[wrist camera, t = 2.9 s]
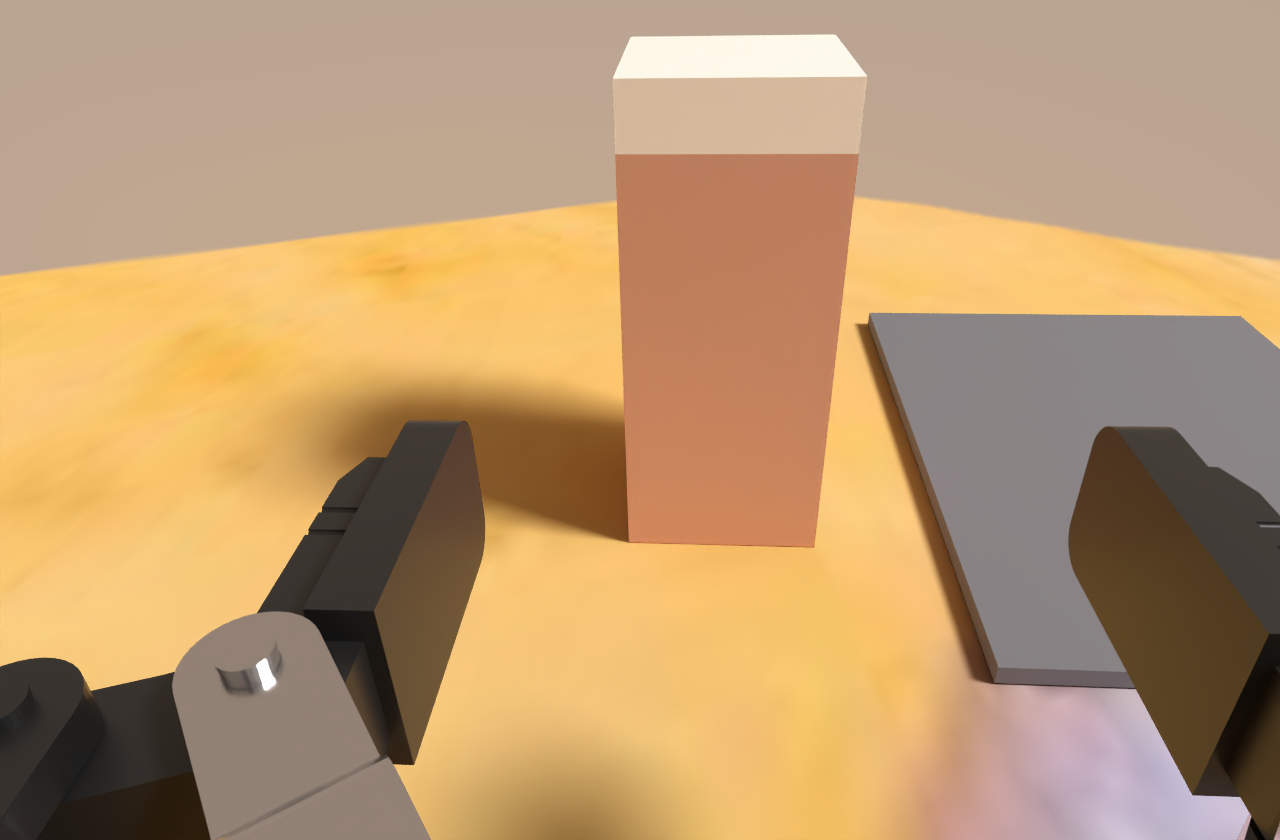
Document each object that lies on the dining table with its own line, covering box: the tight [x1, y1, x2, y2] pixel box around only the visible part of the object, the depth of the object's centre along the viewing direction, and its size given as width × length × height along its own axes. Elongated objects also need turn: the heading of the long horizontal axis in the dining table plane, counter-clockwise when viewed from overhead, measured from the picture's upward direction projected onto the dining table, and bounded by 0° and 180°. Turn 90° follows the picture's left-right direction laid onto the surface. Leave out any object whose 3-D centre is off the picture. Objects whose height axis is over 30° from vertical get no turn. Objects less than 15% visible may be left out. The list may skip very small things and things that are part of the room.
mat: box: [868, 313, 1280, 688], centre depth 26 cm, size 14×18×1 cm
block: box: [613, 35, 867, 547], centre depth 23 cm, size 5×5×12 cm
